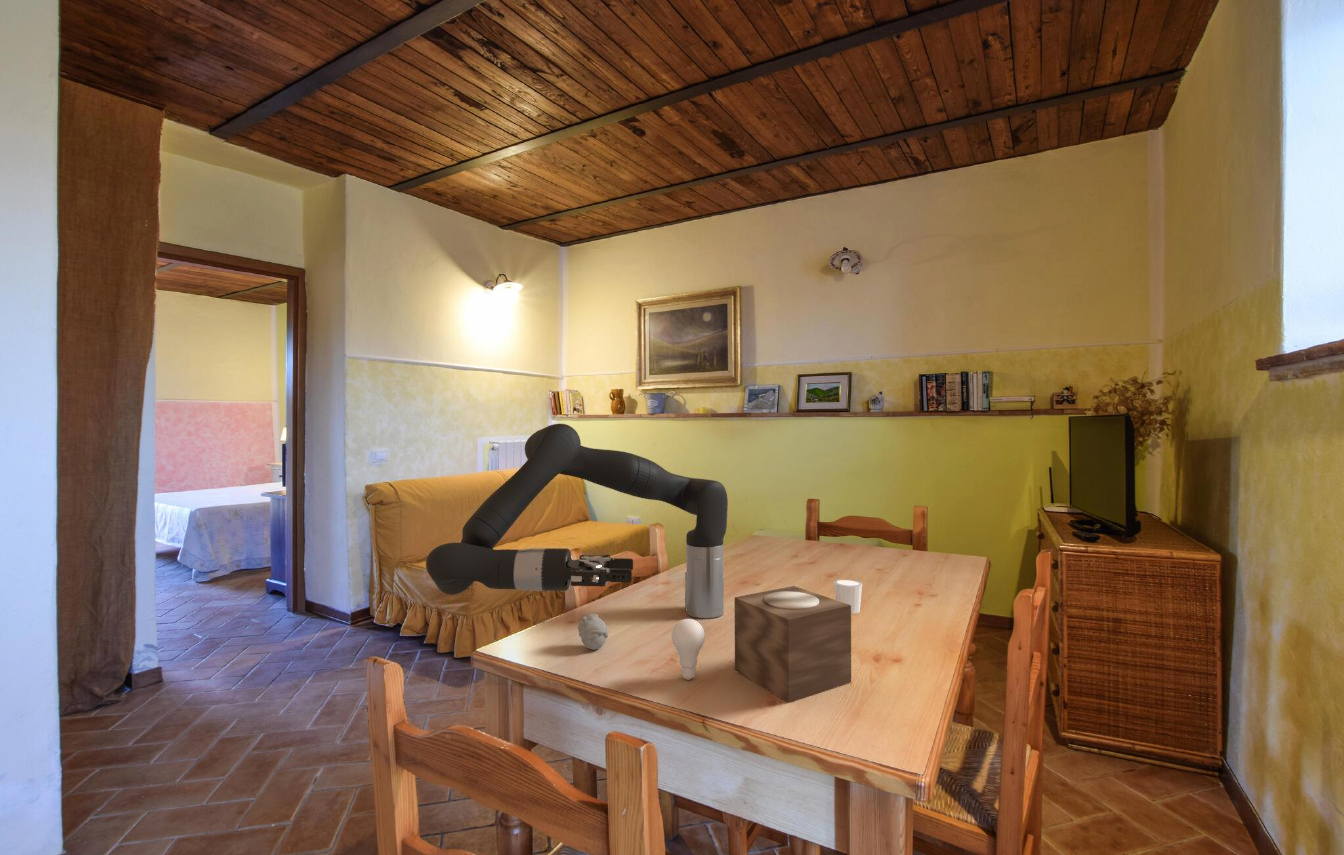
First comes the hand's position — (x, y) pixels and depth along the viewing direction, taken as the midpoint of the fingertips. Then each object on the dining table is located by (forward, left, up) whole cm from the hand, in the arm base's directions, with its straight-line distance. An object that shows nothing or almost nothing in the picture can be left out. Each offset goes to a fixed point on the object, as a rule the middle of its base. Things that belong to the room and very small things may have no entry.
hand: (632, 569), depth 107 cm
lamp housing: (+14, +26, -20) cm, 36 cm away
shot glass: (-8, +65, -21) cm, 69 cm away
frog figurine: (-18, 0, -21) cm, 28 cm away
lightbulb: (+5, +9, -21) cm, 23 cm away
